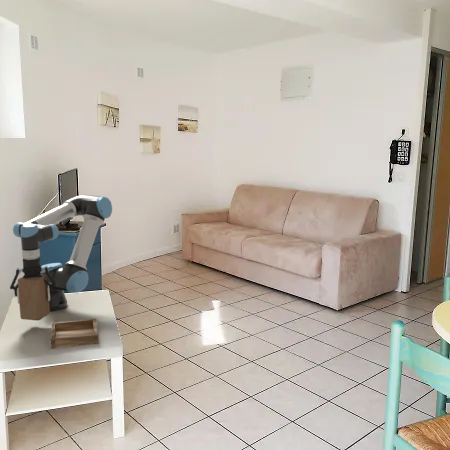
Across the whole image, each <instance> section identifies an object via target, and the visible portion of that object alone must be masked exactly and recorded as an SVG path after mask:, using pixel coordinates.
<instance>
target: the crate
mask: <svg viewBox="0 0 450 450" xmlns="http://www.w3.org/2000/svg"><path fill="white" fill-rule="evenodd" d="M95 344H100V343H99V333H98V329H97V318H91V319H90V318H89V319H79V320H69V321H58V322H56V321H55V322H51V337H50V349H57V348H58V349H59V348H66V347H75V346H77V347H78V346H85V345H95Z"/></svg>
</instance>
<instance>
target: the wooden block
mask: <svg viewBox="0 0 450 450" xmlns="http://www.w3.org/2000/svg"><path fill="white" fill-rule="evenodd" d="M42 276H43V277H38V276H37V277H27V278H23V276H22V277H20V278H17V283H18V292H19V303H18V304H19V314H20V315H19V316H20V317H19V318H20V319H21V320H27V321H41V320H42V319H43V318H45V317H46V316H48V315H49V314H50V312H51V311H50V309H49V301H48V285H47V284H46V283H45V282H44V278H45V279H47V280H48V278H47V275H43V274H42Z"/></svg>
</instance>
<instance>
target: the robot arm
mask: <svg viewBox="0 0 450 450" xmlns="http://www.w3.org/2000/svg"><path fill="white" fill-rule="evenodd" d="M112 212H113V205H112V202H111V200H110V198H108V197H106V196H101V195H92V194H90V195H89V194H81V195H80V194H79V195H77V196H74V197H72V198H69V199H68V200H67V199H66V200H65V201H64V202H62V204H61V205H59V206H57V207H55V208H53V209H51V210H49V211H46V212H45V213H42V214H41V215H38V216H36V217H34V218H32V219H30V220H27V221H26V222H24V221H21V222H19V221H18V222H16V223H15V224H14V225H13V228H12V231H13V235H14V236H15V237H16V238H20V242H21V254H22V255H21V256H22V268H19V267H17V268H16V270H15V275H14V277H13V279H12V282H11V284H10V286H9V289H10V290H13V291H14V296H15V297H17V304H19V292H18V282H17V281H18V277H19V275H20V274H21V273H23V274H24V275H23V276H22V277H23V278H27V277H37V276H38V277H43V276H42V274H43V275H47V278H48V280H47V279H45V278H44V282H45V283H46V284H47V285H48V301H49V309H50V312H52V311H58V310H62V309H65V308H66V307H67V306H68V300H67V297H66V295H65V292H69V293H76V294H77V293H80V292H82V291H84V289H86V287H87V286H88V284H89V279H90V278H89V273H88V272H87V271H88V268H87V267H86V266H87V262H88V260H89V258H90V254H91V251H92V248H93V245H94V242H95V240H96V236H97V234H98V231H99V228H100V225H102V224H104V222H105V219H109V218H110V217H111V216H112ZM77 216H82V218H83V221H82V225H81V228H80V230H79V233H78V236H77V239H76V242H75V244H74V246H73V247H74V248H73V250H72V253H71V255H70V259H69V261H67V262H65V264H64V265H63V264H62V263H61V262H52V263H46V264H43V265H41V258H40V256H41V252H40V244H41V243H46V242H49V241H53V240H55V239H57V238H58V236H59V234H60V233H59V232H60V231H59V228H58V226H57V224H58V223H60V222H62V221H65V220H67V219H68V218H75V217H77ZM63 266H64V267H63ZM16 282H17V283H16ZM15 284H16V285H15ZM64 291H65V292H64Z"/></svg>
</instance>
